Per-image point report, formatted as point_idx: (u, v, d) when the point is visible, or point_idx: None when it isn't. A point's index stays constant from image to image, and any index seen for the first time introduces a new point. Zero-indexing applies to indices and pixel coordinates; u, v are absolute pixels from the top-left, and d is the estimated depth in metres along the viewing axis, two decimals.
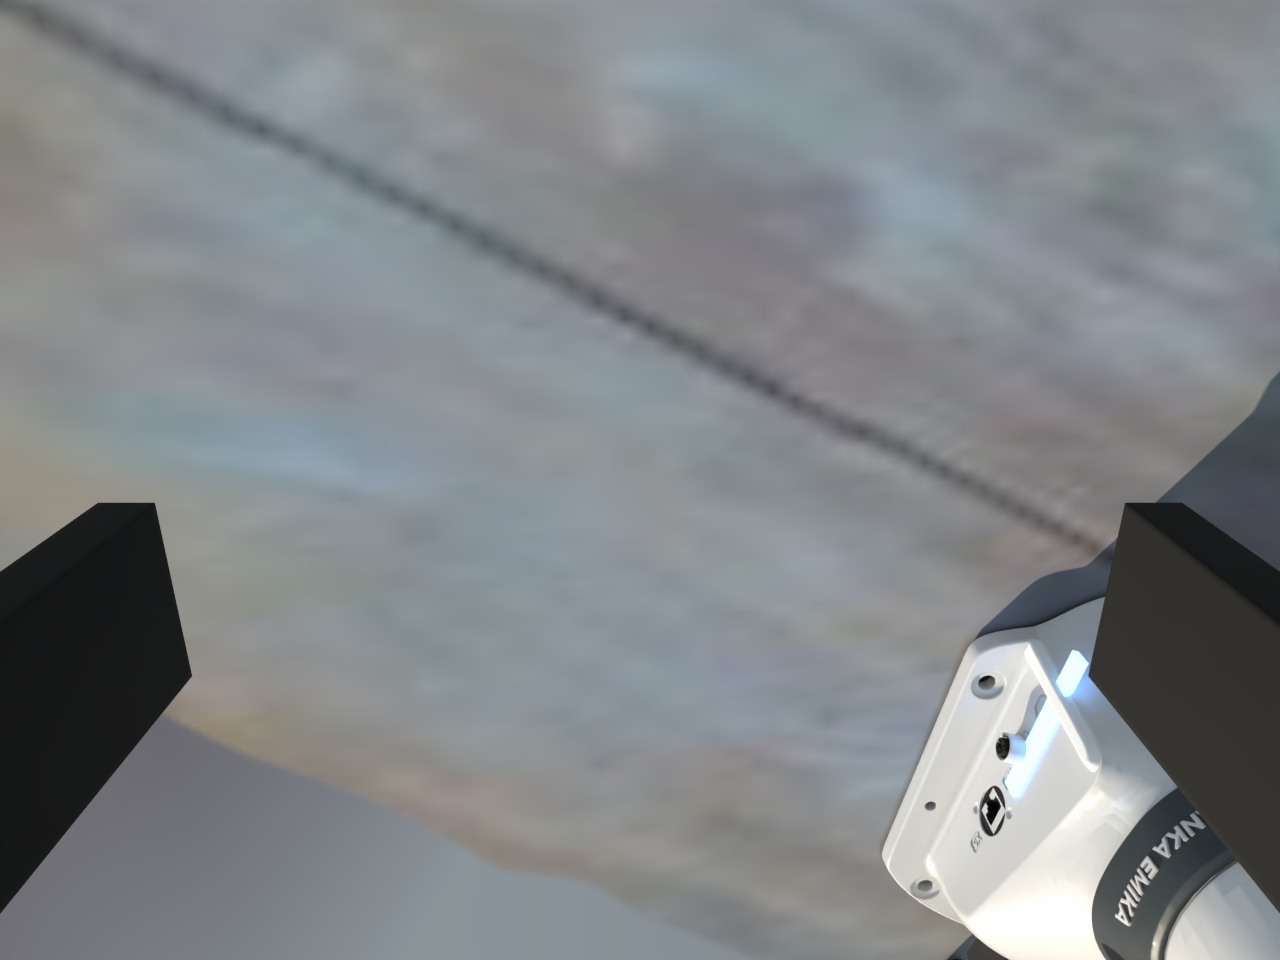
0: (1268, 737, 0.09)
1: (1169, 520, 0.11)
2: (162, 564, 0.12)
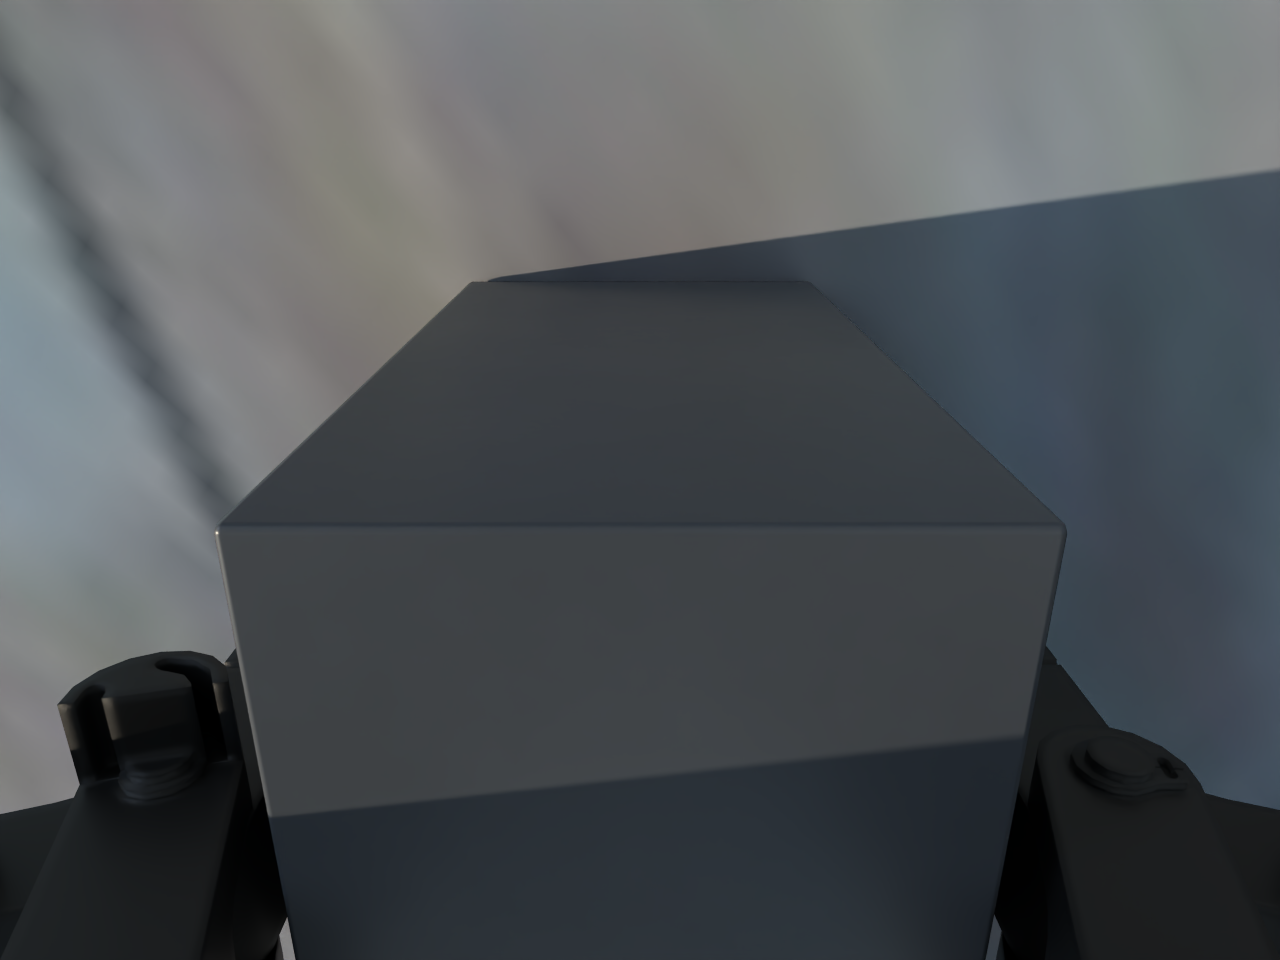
0: None
1: None
2: None
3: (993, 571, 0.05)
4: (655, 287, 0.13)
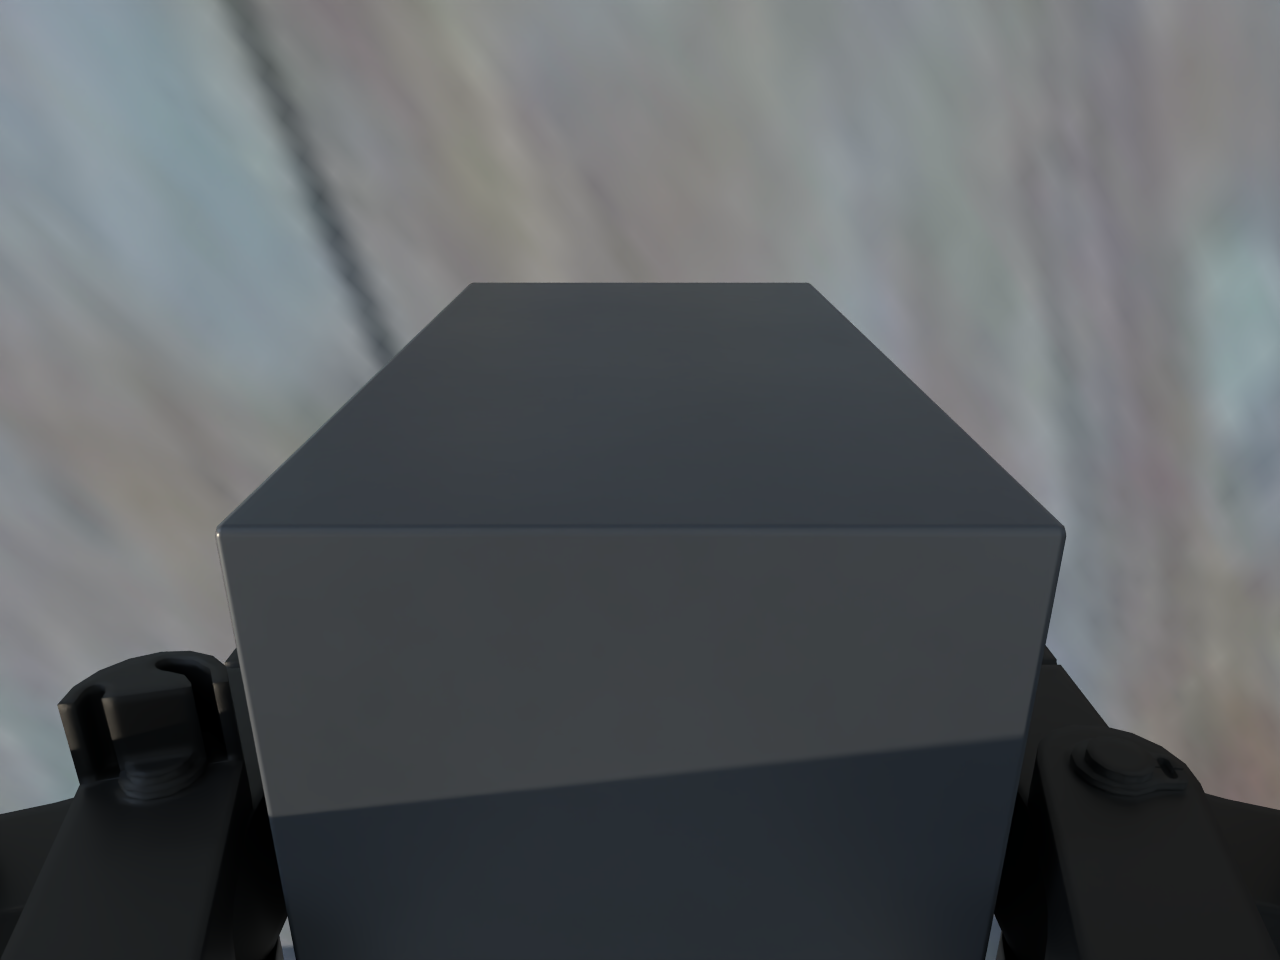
0: None
1: None
2: None
3: (993, 574, 0.05)
4: (655, 288, 0.13)
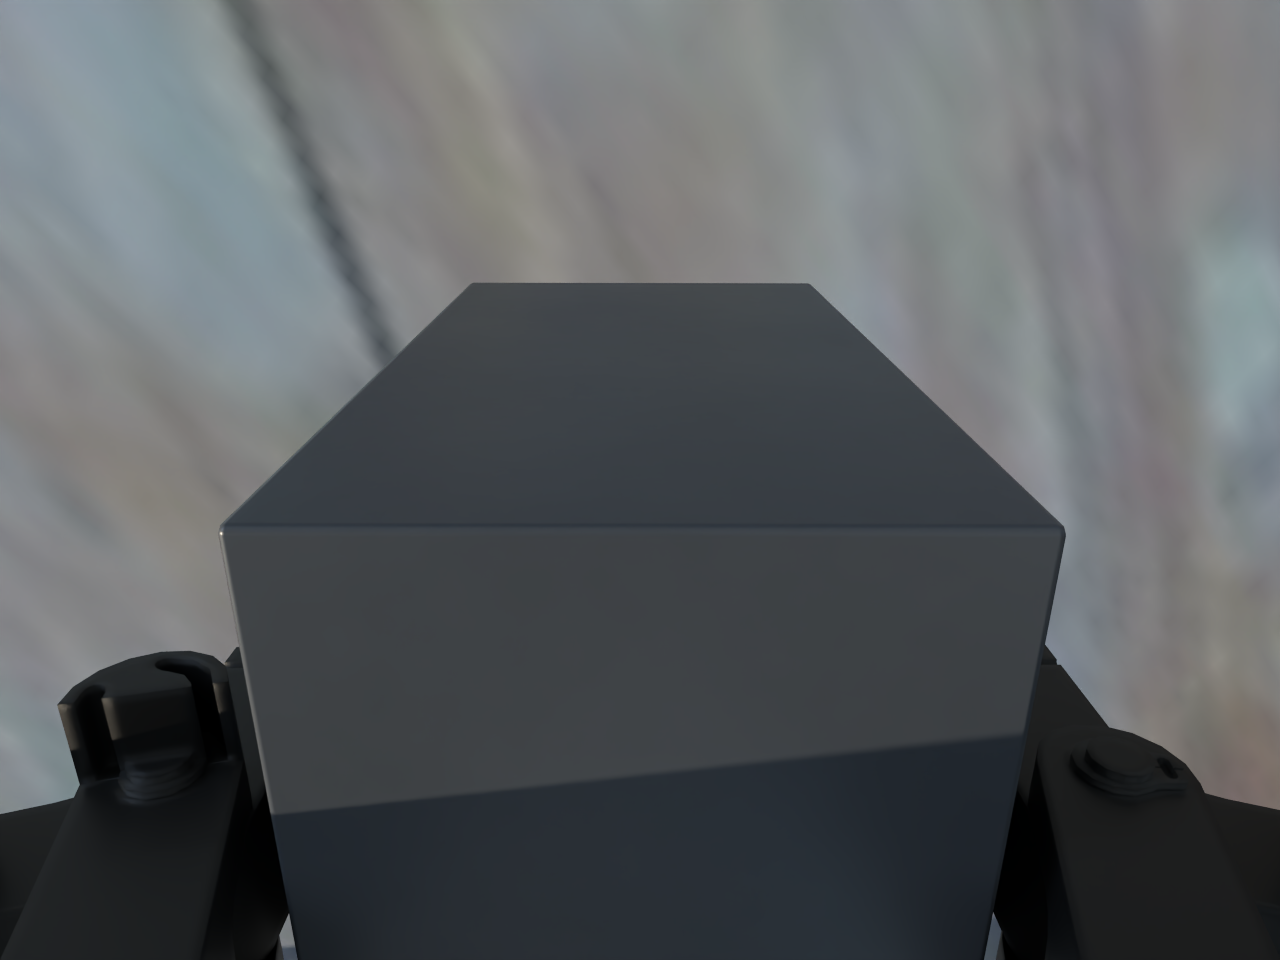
0: None
1: None
2: None
3: (991, 572, 0.05)
4: (655, 288, 0.13)
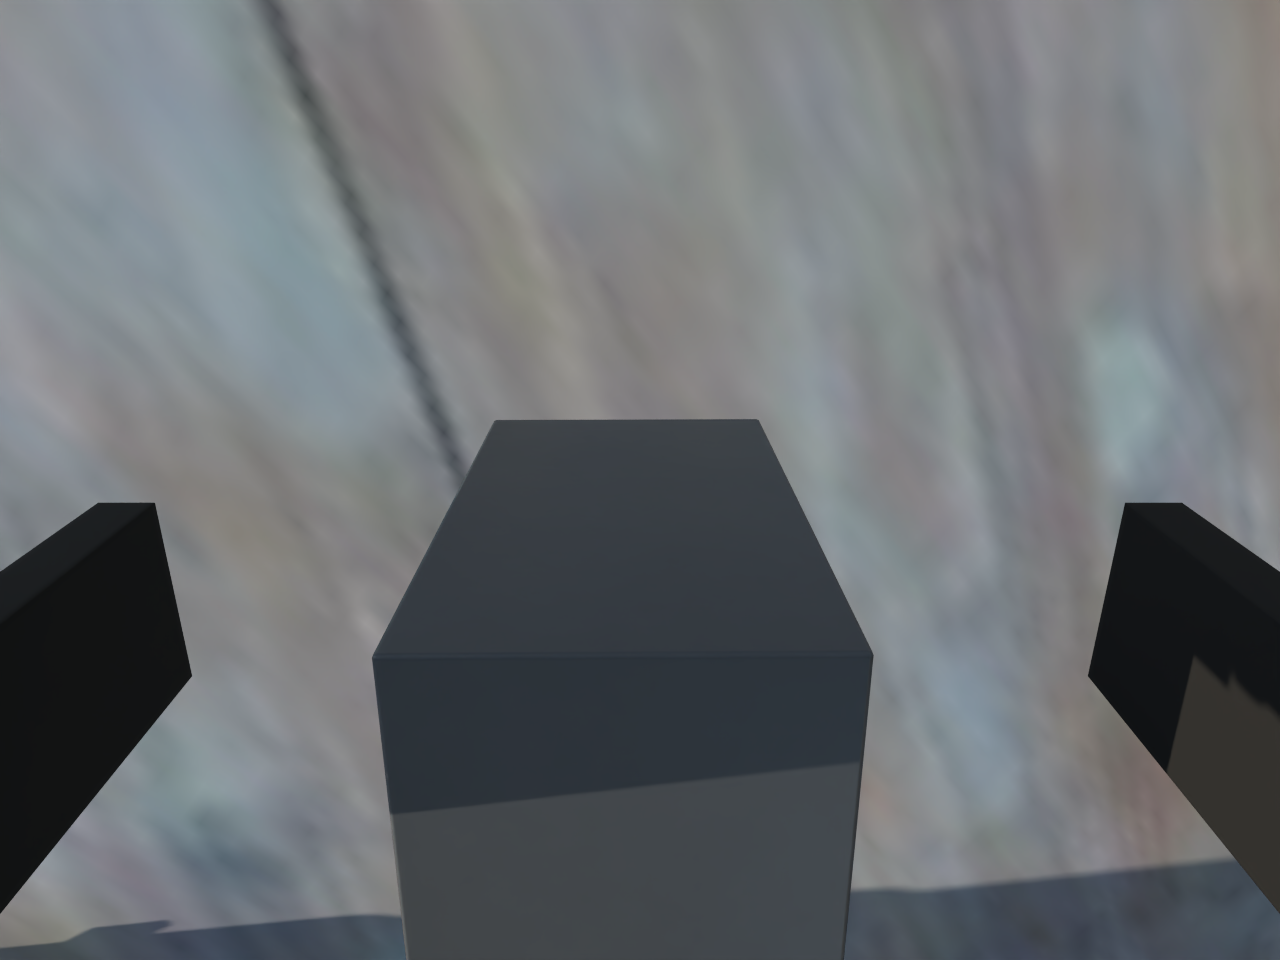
0: (1268, 737, 0.09)
1: (1169, 520, 0.11)
2: (161, 564, 0.12)
3: (831, 679, 0.09)
4: (638, 426, 0.17)
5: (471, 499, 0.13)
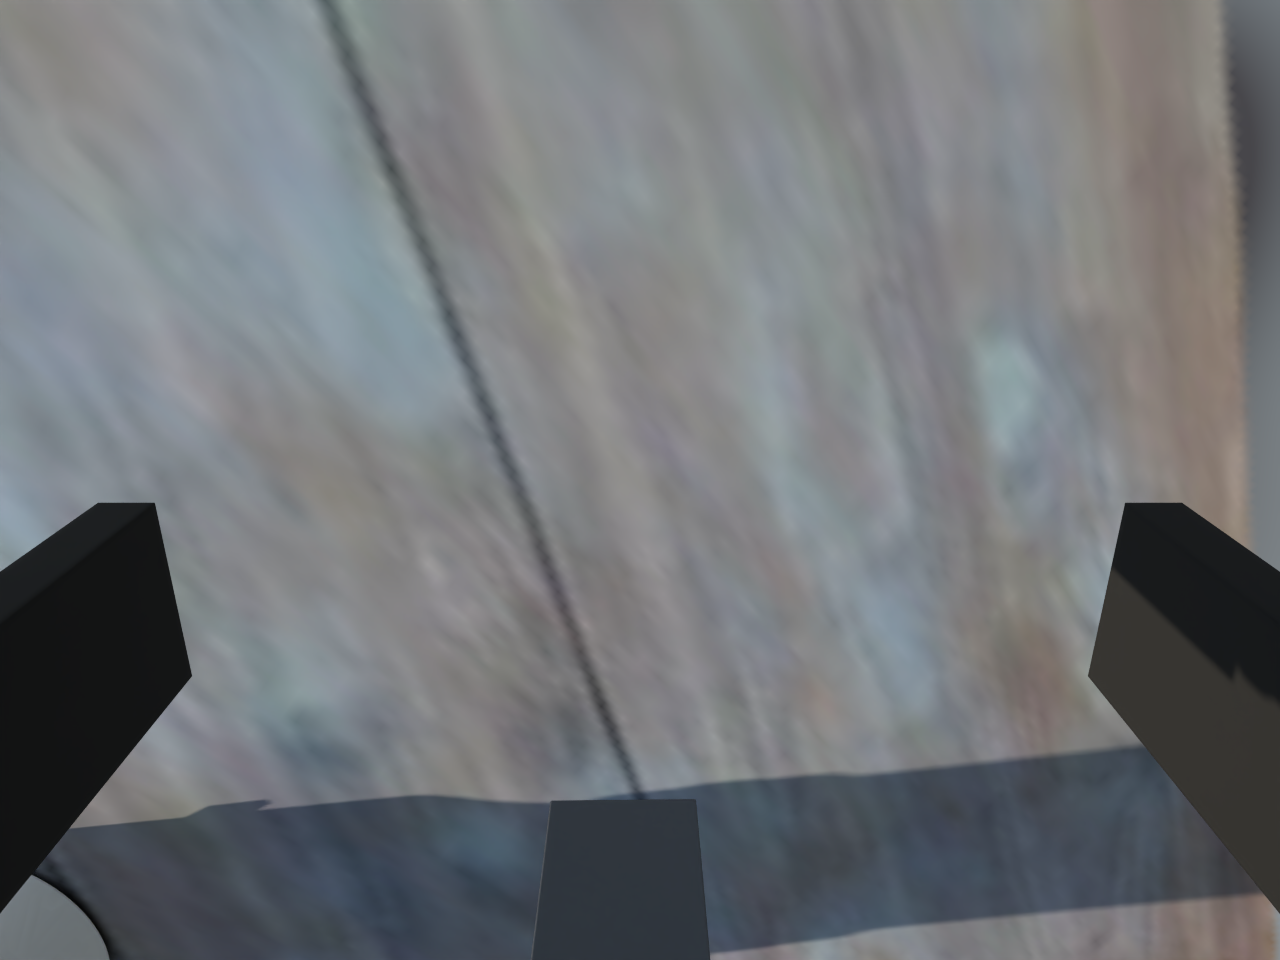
0: (1268, 737, 0.09)
1: (1170, 520, 0.11)
2: (161, 565, 0.12)
3: None
4: (629, 810, 0.31)
5: (547, 899, 0.28)
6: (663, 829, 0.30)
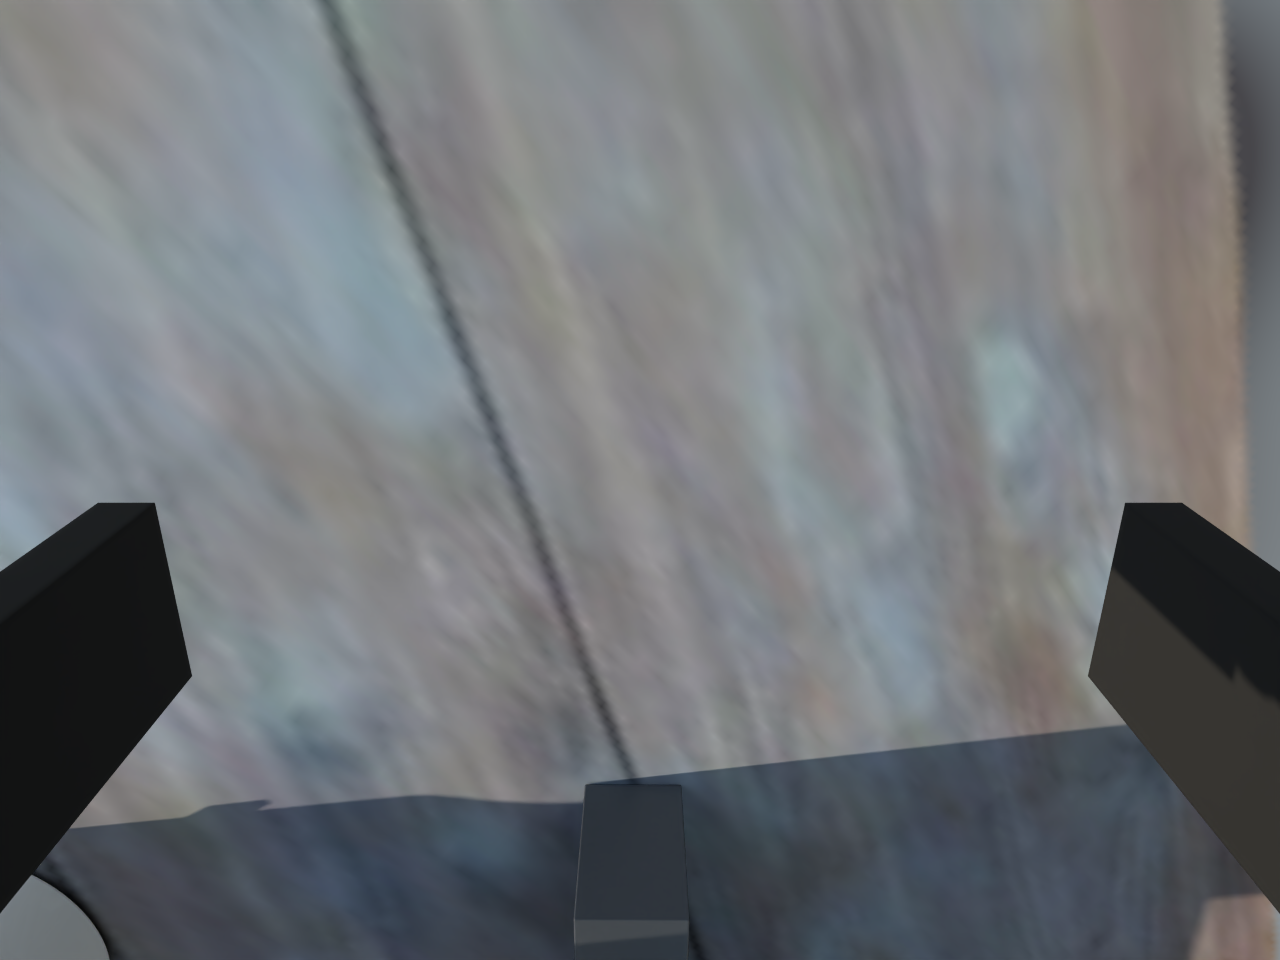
0: (1268, 737, 0.09)
1: (1170, 520, 0.11)
2: (161, 565, 0.12)
3: (679, 925, 0.40)
4: (637, 791, 0.47)
5: (585, 845, 0.44)
6: (659, 804, 0.46)
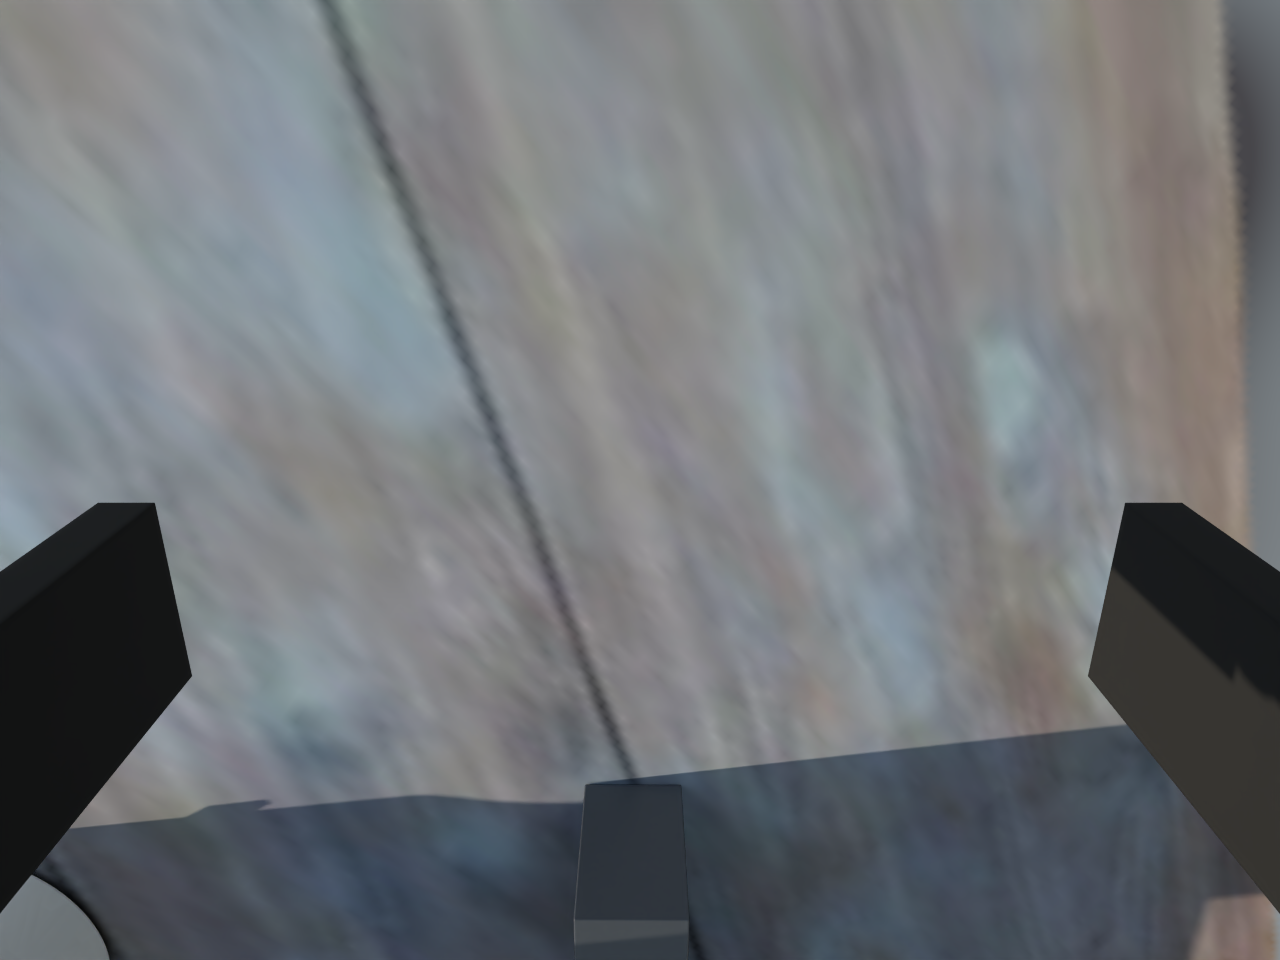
0: (1268, 737, 0.09)
1: (1170, 520, 0.11)
2: (161, 565, 0.12)
3: (679, 925, 0.40)
4: (637, 791, 0.47)
5: (585, 845, 0.44)
6: (659, 804, 0.46)
